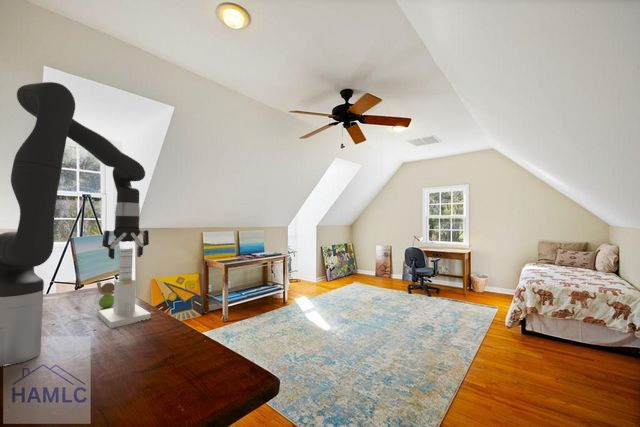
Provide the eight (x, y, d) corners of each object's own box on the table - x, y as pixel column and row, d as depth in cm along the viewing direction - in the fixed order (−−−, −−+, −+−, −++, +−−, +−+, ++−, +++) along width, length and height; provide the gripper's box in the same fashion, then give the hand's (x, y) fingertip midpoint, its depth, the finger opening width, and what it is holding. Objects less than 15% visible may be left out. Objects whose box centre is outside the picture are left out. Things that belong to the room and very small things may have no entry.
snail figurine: (97, 307, 113) (99, 278, 114) (116, 305, 116) (117, 277, 116) (93, 311, 108) (94, 280, 109) (113, 309, 111) (114, 279, 111)
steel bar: (131, 293, 102) (132, 248, 103) (120, 295, 100) (122, 248, 100) (128, 291, 104) (130, 247, 105) (118, 293, 102) (119, 248, 102)
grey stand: (150, 318, 101) (151, 280, 101) (110, 328, 91) (112, 286, 92) (134, 308, 112) (135, 274, 112) (97, 315, 103) (99, 278, 103)
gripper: (107, 214, 95) (105, 260, 95) (152, 215, 106) (150, 256, 105) (101, 214, 100) (99, 258, 99) (145, 215, 111) (144, 255, 110)
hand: (126, 257), depth 102 cm, fingers open, 8 cm apart
